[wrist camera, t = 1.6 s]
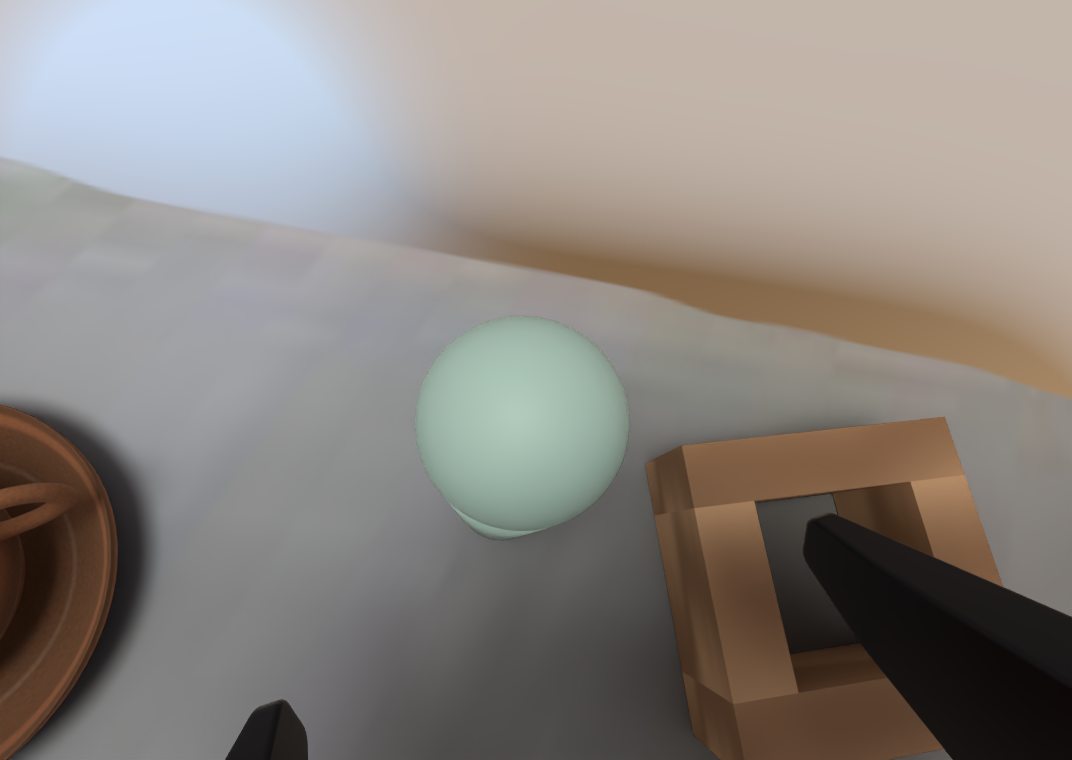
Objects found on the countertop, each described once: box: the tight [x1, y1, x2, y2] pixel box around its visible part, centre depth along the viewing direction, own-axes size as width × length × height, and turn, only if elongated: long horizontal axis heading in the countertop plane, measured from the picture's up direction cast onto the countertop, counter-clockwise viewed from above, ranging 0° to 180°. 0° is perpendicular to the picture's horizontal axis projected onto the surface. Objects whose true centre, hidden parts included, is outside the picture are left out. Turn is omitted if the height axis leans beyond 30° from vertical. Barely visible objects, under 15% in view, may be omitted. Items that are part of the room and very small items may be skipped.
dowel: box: [415, 316, 629, 540], centre depth 13 cm, size 3×3×14 cm
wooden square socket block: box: [645, 417, 1003, 760], centre depth 18 cm, size 9×9×4 cm
